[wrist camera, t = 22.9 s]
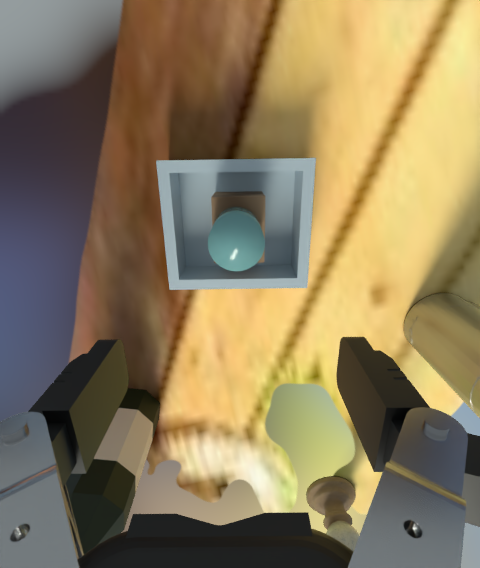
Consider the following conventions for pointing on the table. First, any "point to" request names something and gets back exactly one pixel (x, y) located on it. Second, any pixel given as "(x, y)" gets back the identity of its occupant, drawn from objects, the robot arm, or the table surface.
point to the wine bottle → (114, 471)
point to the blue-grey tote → (198, 220)
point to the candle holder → (334, 507)
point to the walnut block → (240, 199)
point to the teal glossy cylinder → (236, 239)
